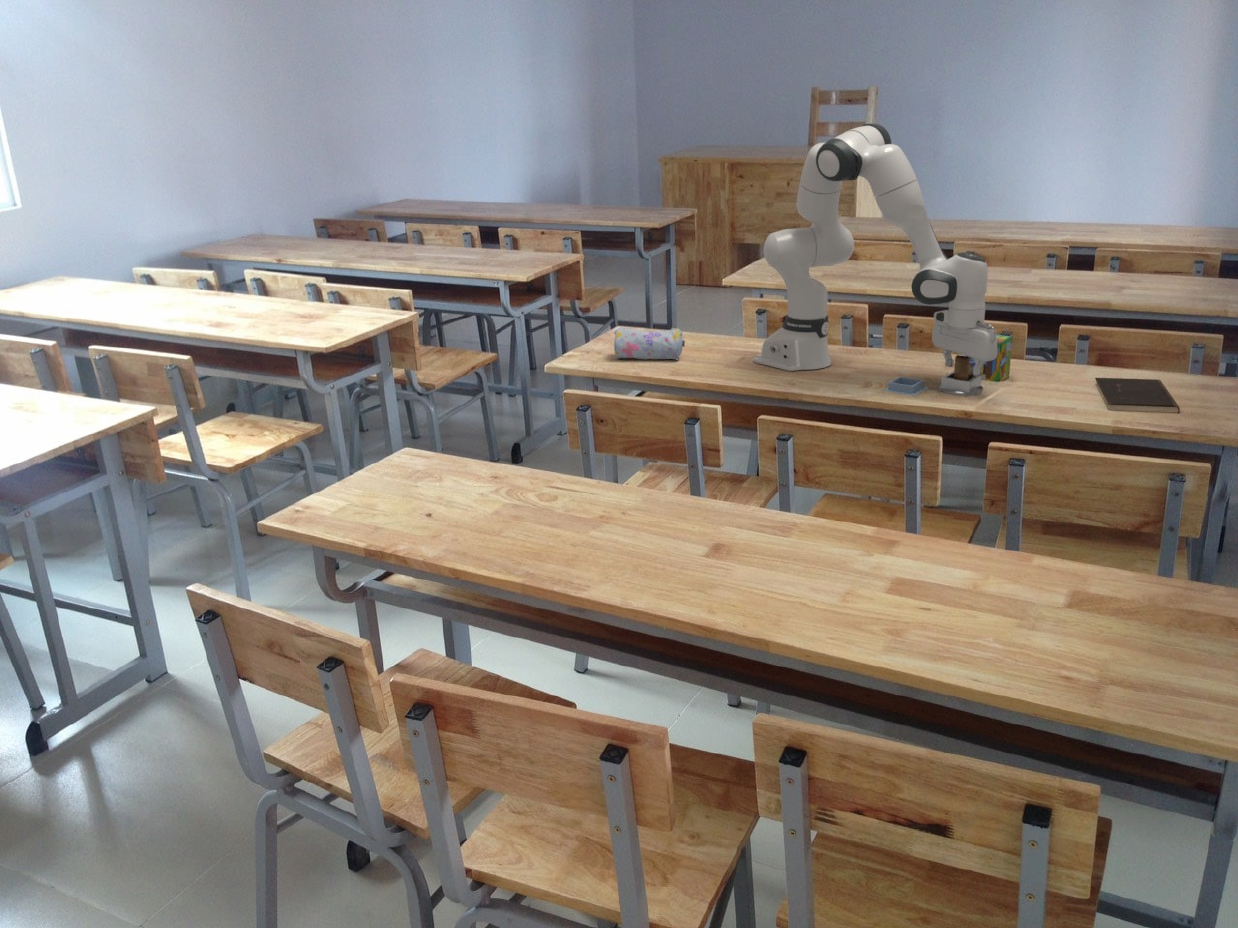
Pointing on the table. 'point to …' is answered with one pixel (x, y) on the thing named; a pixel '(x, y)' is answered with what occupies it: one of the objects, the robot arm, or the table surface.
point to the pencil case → (648, 344)
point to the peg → (961, 367)
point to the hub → (961, 385)
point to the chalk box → (997, 361)
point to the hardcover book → (1136, 395)
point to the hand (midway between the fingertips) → (962, 370)
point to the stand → (906, 386)
